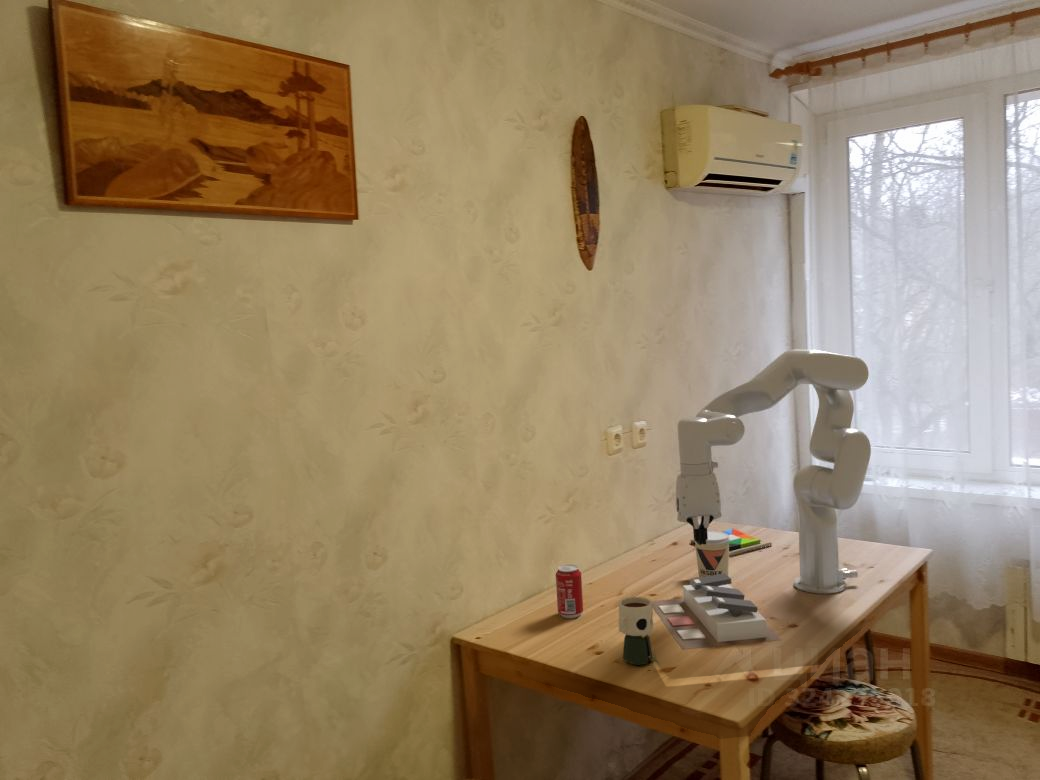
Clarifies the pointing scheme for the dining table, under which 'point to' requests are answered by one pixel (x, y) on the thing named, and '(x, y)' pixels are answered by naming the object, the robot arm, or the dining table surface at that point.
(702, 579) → the block
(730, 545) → the wooden puzzle
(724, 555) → the coffee cup
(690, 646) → the chart board
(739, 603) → the rocker near
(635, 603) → the character mug
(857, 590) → the dining table surface
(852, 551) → the dining table surface
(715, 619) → the switch housing
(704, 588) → the rocker middle
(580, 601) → the beverage can
